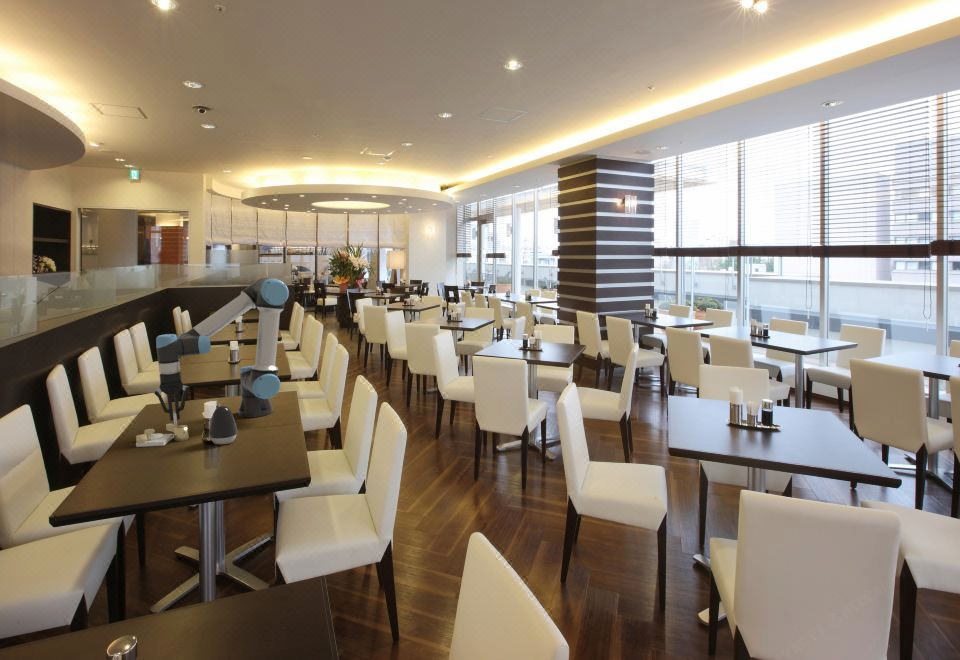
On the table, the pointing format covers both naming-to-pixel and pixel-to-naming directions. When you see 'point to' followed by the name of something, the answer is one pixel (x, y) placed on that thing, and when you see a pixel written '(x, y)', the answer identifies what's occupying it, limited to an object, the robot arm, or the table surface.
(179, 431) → the footscrew knob
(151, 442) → the levelling base
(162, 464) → the table surface
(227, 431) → the dark grey egg-shaped device
